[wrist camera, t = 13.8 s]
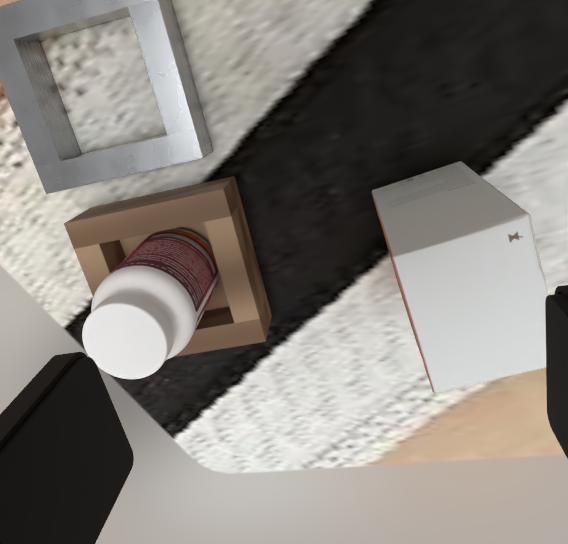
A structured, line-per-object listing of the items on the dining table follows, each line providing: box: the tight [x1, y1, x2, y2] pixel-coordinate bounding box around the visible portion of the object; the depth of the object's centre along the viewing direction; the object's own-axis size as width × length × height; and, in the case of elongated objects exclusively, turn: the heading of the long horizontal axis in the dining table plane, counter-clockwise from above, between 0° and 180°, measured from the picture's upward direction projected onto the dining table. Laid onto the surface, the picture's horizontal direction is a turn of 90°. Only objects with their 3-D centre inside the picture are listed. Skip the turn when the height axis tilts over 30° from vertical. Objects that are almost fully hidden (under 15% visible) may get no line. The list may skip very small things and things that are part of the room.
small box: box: [371, 161, 548, 393], centre depth 30 cm, size 8×6×13 cm
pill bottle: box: [82, 228, 220, 379], centre depth 32 cm, size 6×6×11 cm
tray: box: [64, 176, 272, 357], centre depth 37 cm, size 11×11×4 cm
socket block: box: [0, 0, 213, 194], centre depth 33 cm, size 11×11×3 cm
